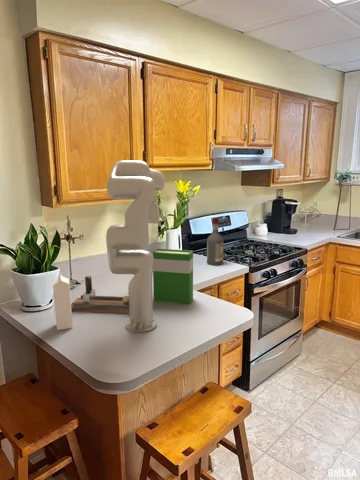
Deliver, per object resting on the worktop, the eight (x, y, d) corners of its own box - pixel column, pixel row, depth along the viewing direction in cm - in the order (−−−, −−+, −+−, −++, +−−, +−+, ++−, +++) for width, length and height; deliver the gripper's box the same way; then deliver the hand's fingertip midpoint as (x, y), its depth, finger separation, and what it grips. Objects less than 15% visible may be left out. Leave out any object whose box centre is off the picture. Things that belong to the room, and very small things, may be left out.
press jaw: (89, 305, 160) (88, 279, 158) (83, 305, 161) (81, 279, 158) (95, 299, 167) (94, 274, 165) (89, 299, 167) (87, 274, 165)
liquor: (205, 264, 231) (205, 218, 224) (212, 260, 238) (212, 216, 232) (217, 266, 226) (218, 219, 219) (224, 262, 233) (225, 217, 227)
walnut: (130, 306, 160) (129, 297, 159) (121, 305, 160) (121, 297, 159) (132, 302, 163) (132, 294, 163) (124, 302, 164) (123, 294, 163)
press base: (138, 313, 156) (137, 296, 155) (68, 310, 160) (67, 293, 159) (143, 304, 166) (143, 288, 165) (77, 301, 170) (76, 285, 169)
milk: (56, 330, 142) (51, 277, 137) (57, 323, 147) (52, 273, 142) (72, 328, 143) (68, 276, 138) (72, 321, 149) (68, 271, 144)
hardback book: (153, 300, 171) (152, 252, 166) (158, 295, 178) (157, 248, 173) (189, 304, 167) (189, 254, 161) (193, 298, 174) (193, 250, 168)
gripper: (130, 201, 171) (131, 236, 174) (166, 200, 172) (167, 235, 176) (131, 199, 178) (132, 233, 181) (165, 199, 179) (166, 232, 183)
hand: (149, 234), depth 178 cm, fingers open, 9 cm apart
